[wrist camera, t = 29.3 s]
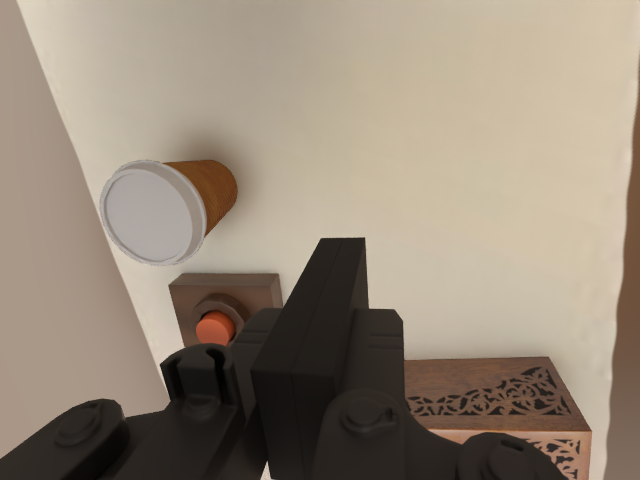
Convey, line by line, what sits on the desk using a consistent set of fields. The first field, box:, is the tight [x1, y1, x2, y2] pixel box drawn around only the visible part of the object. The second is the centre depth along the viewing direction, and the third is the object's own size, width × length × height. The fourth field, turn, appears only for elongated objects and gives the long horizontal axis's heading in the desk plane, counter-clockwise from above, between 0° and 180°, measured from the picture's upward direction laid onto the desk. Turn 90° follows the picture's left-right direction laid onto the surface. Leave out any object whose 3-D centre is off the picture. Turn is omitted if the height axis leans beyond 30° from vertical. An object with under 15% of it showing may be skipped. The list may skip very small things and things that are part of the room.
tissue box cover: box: [404, 357, 592, 480], centre depth 42 cm, size 26×14×10 cm, turn 101°
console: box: [168, 274, 283, 349], centre depth 45 cm, size 9×13×5 cm
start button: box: [196, 311, 235, 346], centre depth 42 cm, size 4×4×2 cm
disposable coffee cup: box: [100, 160, 238, 266], centre depth 36 cm, size 10×10×12 cm
